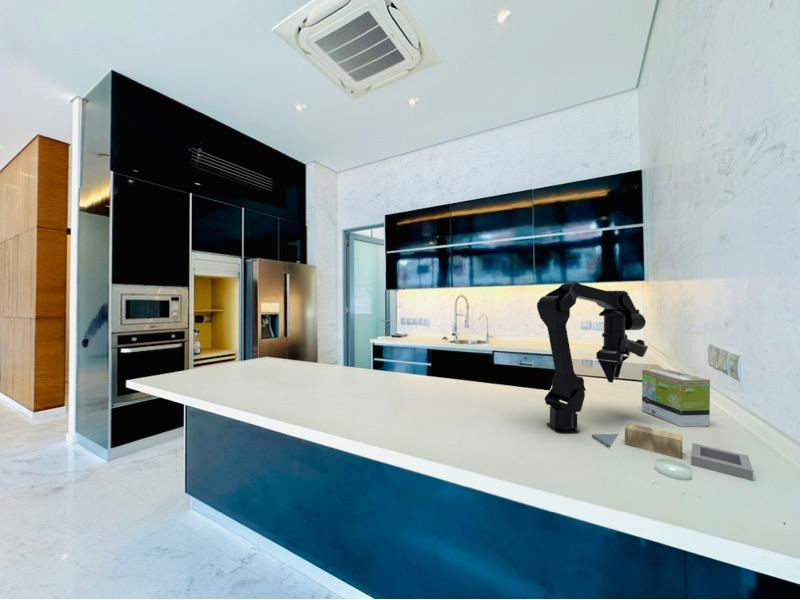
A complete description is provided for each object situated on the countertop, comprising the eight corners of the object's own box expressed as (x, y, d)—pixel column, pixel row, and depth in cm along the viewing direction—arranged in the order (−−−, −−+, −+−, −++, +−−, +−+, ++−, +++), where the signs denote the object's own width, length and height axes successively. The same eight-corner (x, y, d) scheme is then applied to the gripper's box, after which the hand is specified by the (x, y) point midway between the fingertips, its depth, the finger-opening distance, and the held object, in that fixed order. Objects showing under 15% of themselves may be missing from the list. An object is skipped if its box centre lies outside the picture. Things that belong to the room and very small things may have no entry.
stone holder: (691, 469, 74) (691, 455, 74) (692, 455, 81) (692, 443, 81) (752, 485, 68) (752, 470, 68) (748, 468, 75) (748, 455, 75)
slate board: (630, 461, 78) (630, 458, 78) (591, 437, 92) (592, 434, 92) (686, 460, 78) (686, 457, 78) (640, 436, 92) (640, 433, 92)
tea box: (640, 411, 115) (640, 368, 115) (667, 410, 116) (667, 368, 116) (680, 427, 100) (681, 378, 100) (711, 427, 101) (711, 378, 101)
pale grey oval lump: (671, 485, 68) (672, 472, 68) (648, 470, 74) (648, 459, 74) (699, 484, 68) (699, 472, 68) (673, 469, 74) (673, 458, 74)
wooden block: (625, 427, 85) (681, 440, 77) (628, 423, 88) (682, 434, 81) (624, 445, 85) (681, 459, 77) (628, 440, 88) (682, 453, 80)
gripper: (641, 334, 92) (641, 390, 92) (649, 330, 106) (648, 379, 106) (596, 331, 100) (595, 383, 100) (609, 328, 114) (608, 374, 113)
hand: (613, 379), depth 104 cm, fingers open, 9 cm apart
